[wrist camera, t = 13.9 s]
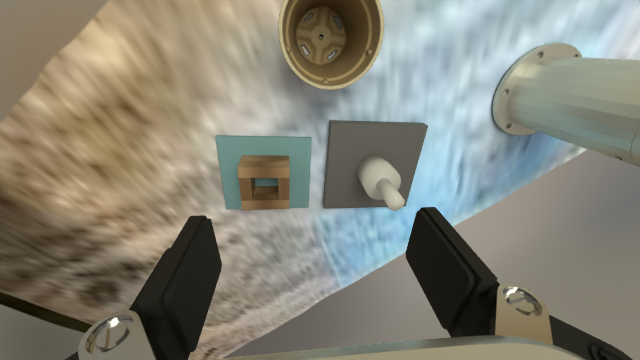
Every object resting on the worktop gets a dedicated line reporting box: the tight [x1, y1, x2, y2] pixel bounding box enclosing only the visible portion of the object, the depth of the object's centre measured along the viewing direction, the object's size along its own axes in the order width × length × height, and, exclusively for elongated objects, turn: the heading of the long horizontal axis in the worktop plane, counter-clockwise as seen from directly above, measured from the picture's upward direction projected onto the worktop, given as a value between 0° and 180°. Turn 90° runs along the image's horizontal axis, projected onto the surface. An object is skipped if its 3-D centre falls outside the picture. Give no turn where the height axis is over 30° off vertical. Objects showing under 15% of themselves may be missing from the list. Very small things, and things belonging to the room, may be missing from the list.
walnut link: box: [237, 155, 290, 210], centre depth 35 cm, size 7×7×4 cm
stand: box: [323, 120, 428, 211], centre depth 34 cm, size 14×14×11 cm
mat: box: [215, 135, 311, 209], centre depth 37 cm, size 13×12×1 cm
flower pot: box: [278, 0, 384, 90], centre depth 25 cm, size 9×9×9 cm
